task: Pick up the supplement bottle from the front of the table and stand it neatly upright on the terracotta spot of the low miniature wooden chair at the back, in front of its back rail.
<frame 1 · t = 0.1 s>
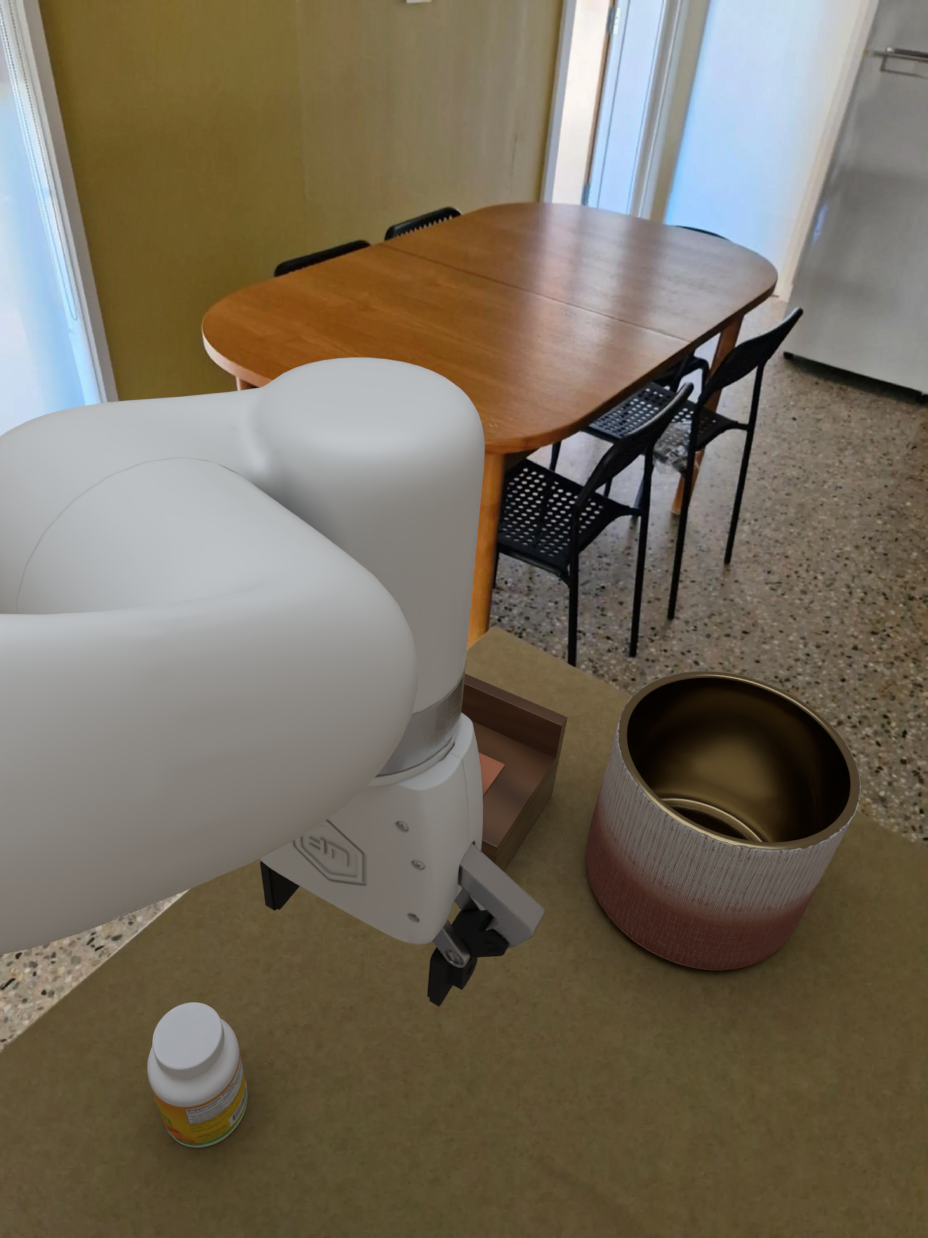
hand: (366, 932, 45), 21 cm above the counter, tool pointing down, fingers open, 9 cm apart
supplement bottle: (206, 1106, 58), on the counter
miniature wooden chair: (457, 809, 78), on the counter
planter: (687, 879, 74), on the counter
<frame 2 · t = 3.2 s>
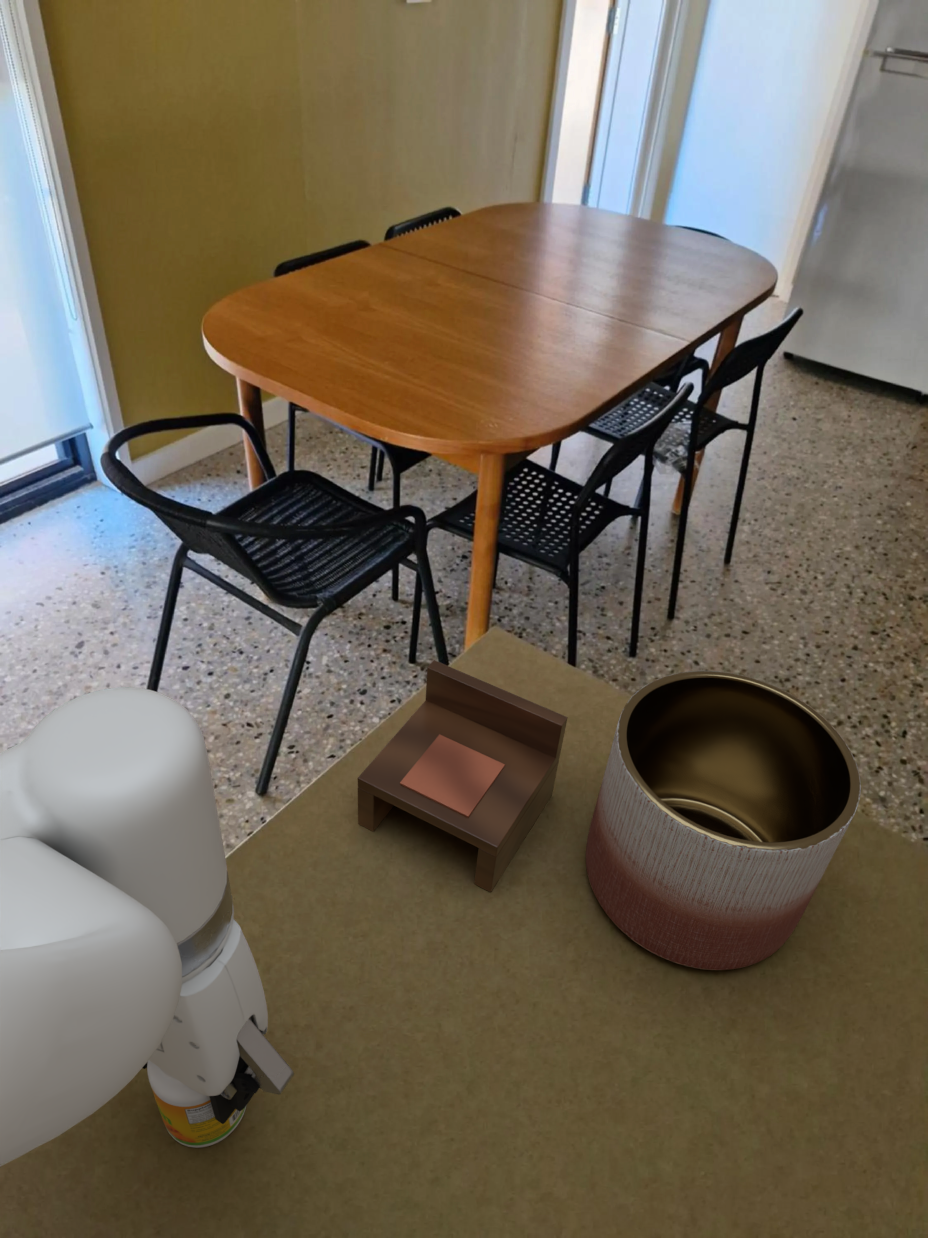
hand: (197, 1071, 55), 5 cm above the counter, tool pointing down, fingers closed on supplement bottle, 5 cm apart
supplement bottle: (206, 1106, 58), on the counter, touching gripper
everything else where it was.
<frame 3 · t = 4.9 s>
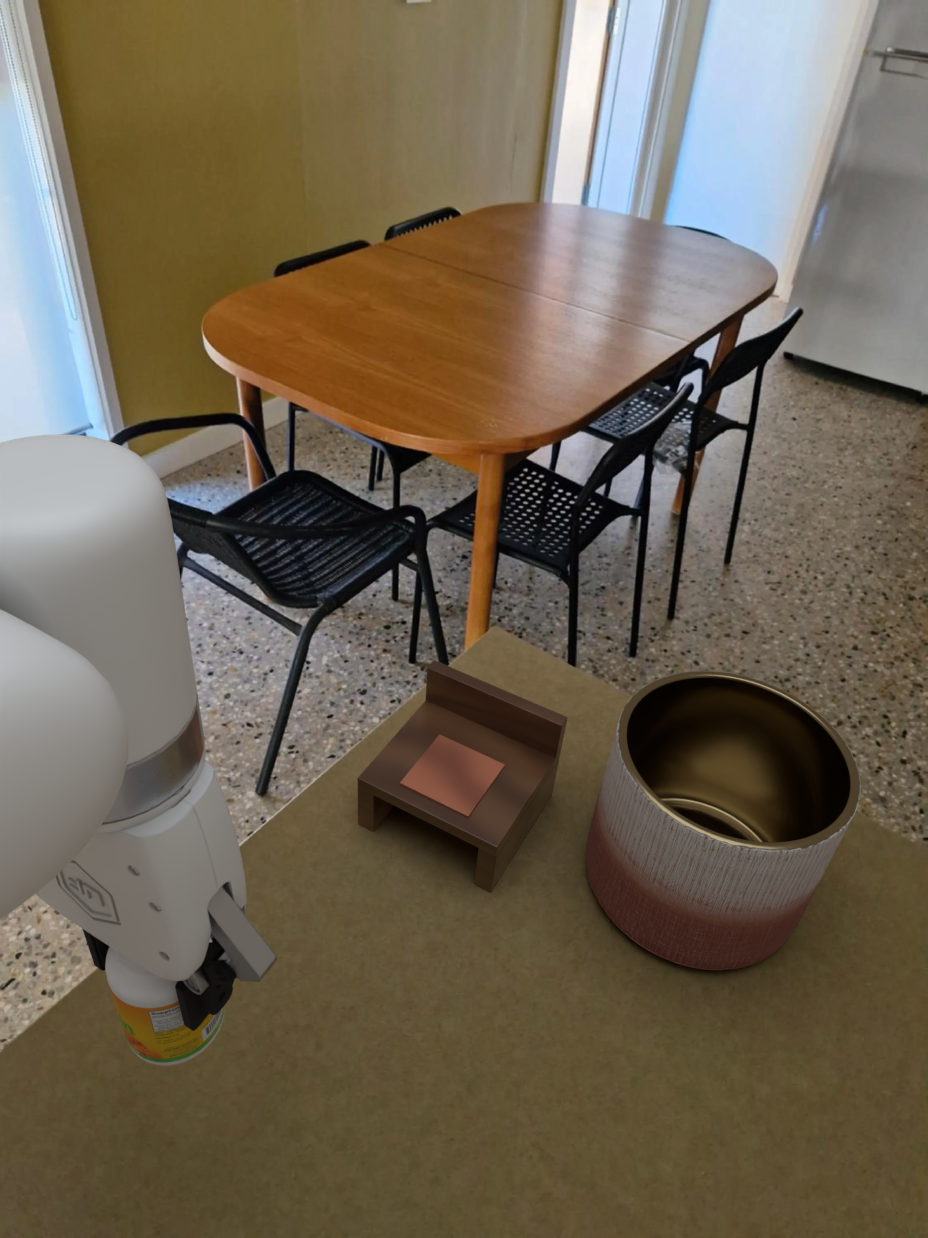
hand: (164, 974, 47), 17 cm above the counter, tool pointing down, fingers closed on supplement bottle, 5 cm apart
supplement bottle: (176, 1022, 50), point 12 cm above the counter, touching gripper
everything else where it was.
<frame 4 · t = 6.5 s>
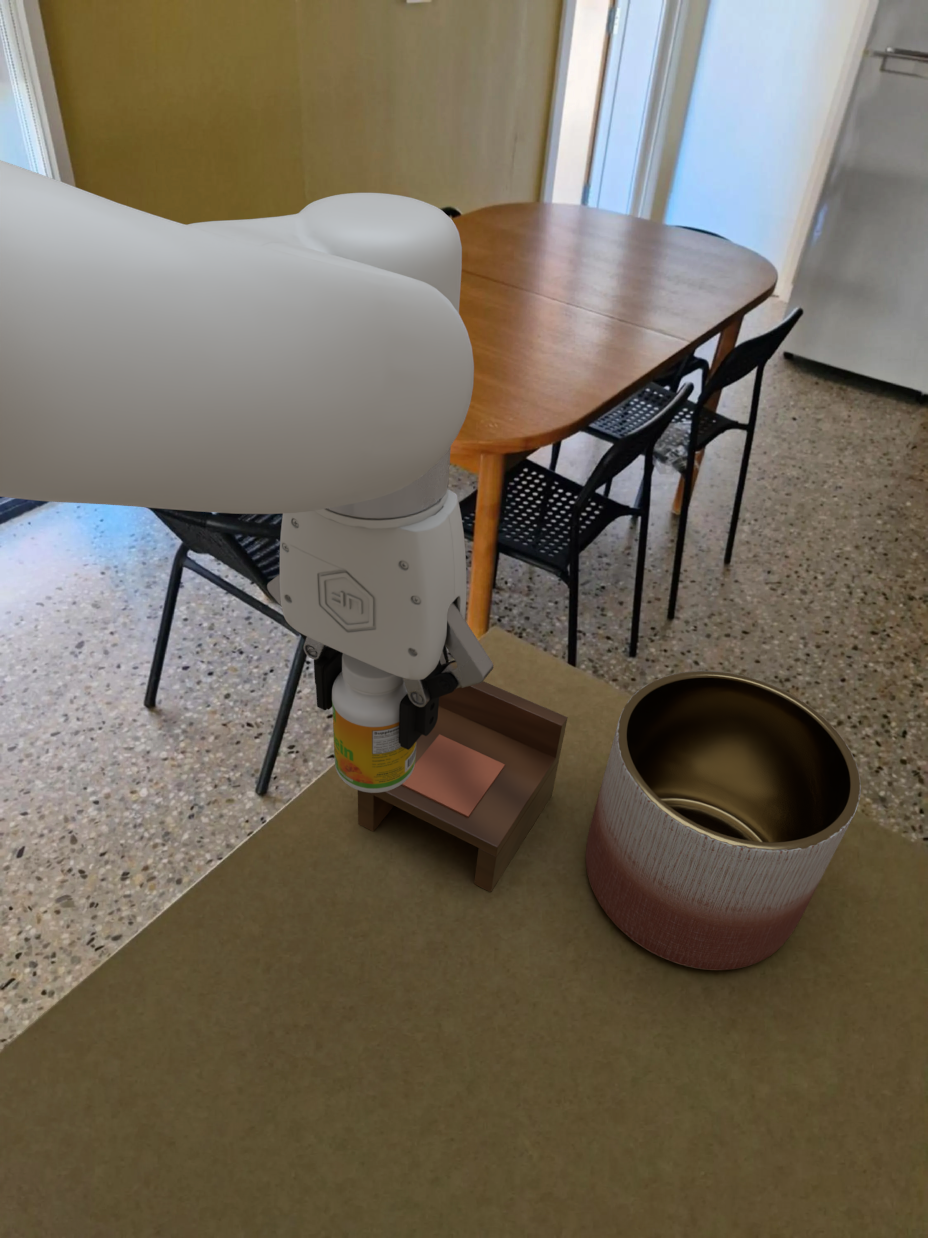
hand: (375, 713, 56), 22 cm above the counter, tool pointing down, fingers closed on supplement bottle, 5 cm apart
supplement bottle: (375, 766, 60), point 17 cm above the counter, touching gripper
everything else where it was.
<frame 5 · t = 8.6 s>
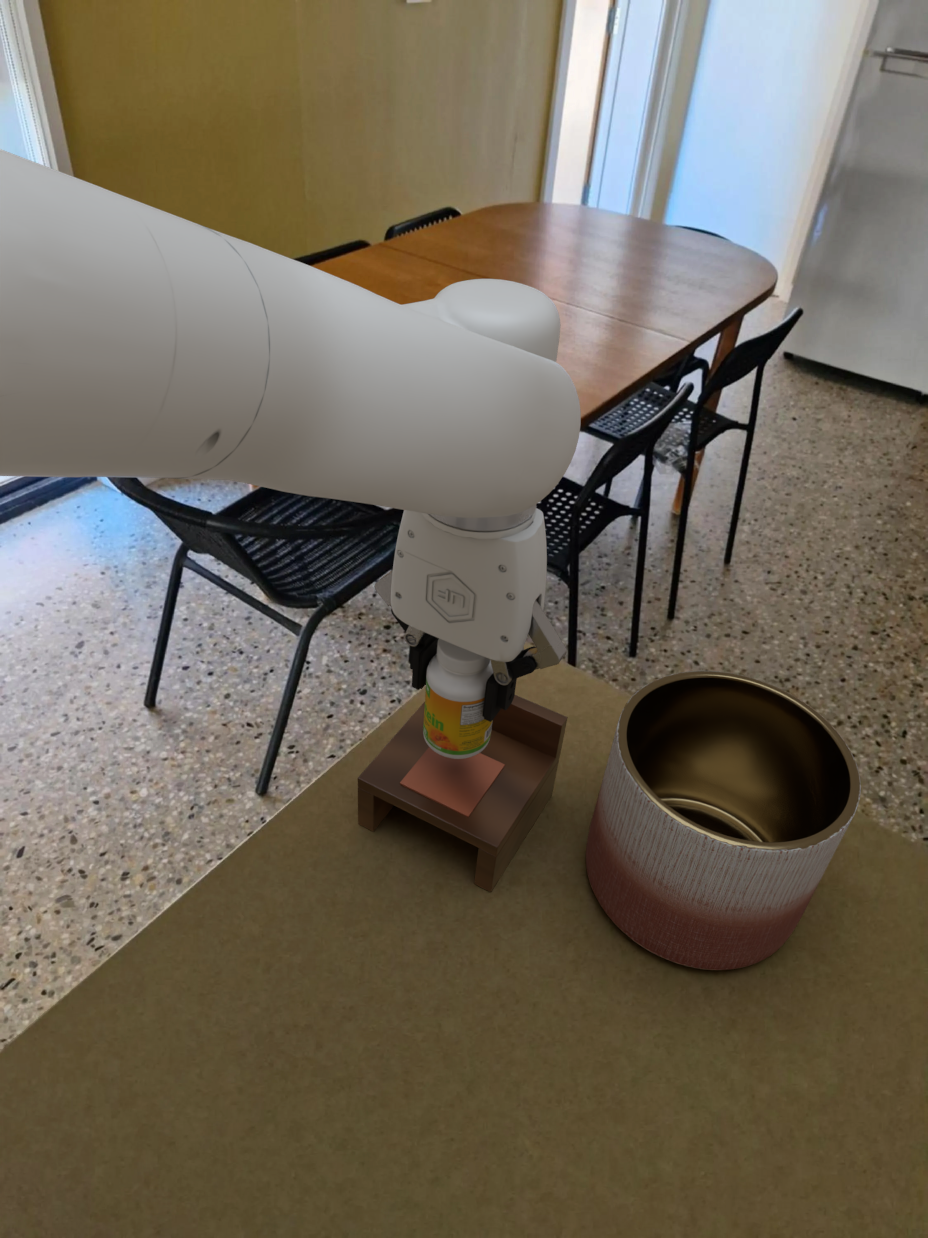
hand: (460, 692, 68), 16 cm above the counter, tool pointing down, fingers closed on supplement bottle, 5 cm apart
supplement bottle: (456, 737, 71), point 11 cm above the counter, touching gripper
everything else where it was.
when the fingers open (11 cm above the counter, at t = 10.1 s): supplement bottle stays where it is, resting on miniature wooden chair.
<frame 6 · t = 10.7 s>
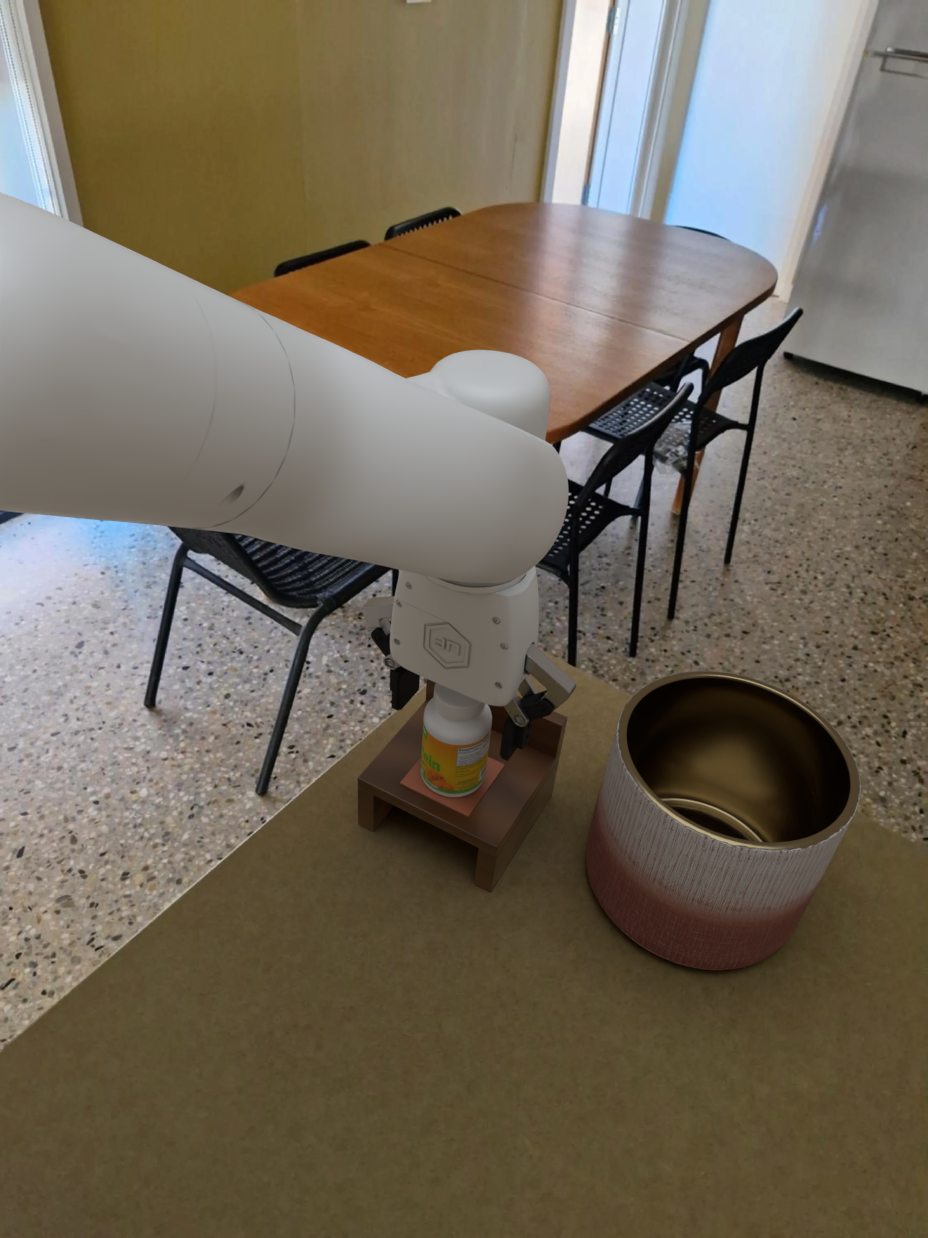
hand: (457, 723, 70), 12 cm above the counter, tool pointing down, fingers open, 9 cm apart
supplement bottle: (452, 775, 73), point 6 cm above the counter, touching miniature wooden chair
everything else where it was.
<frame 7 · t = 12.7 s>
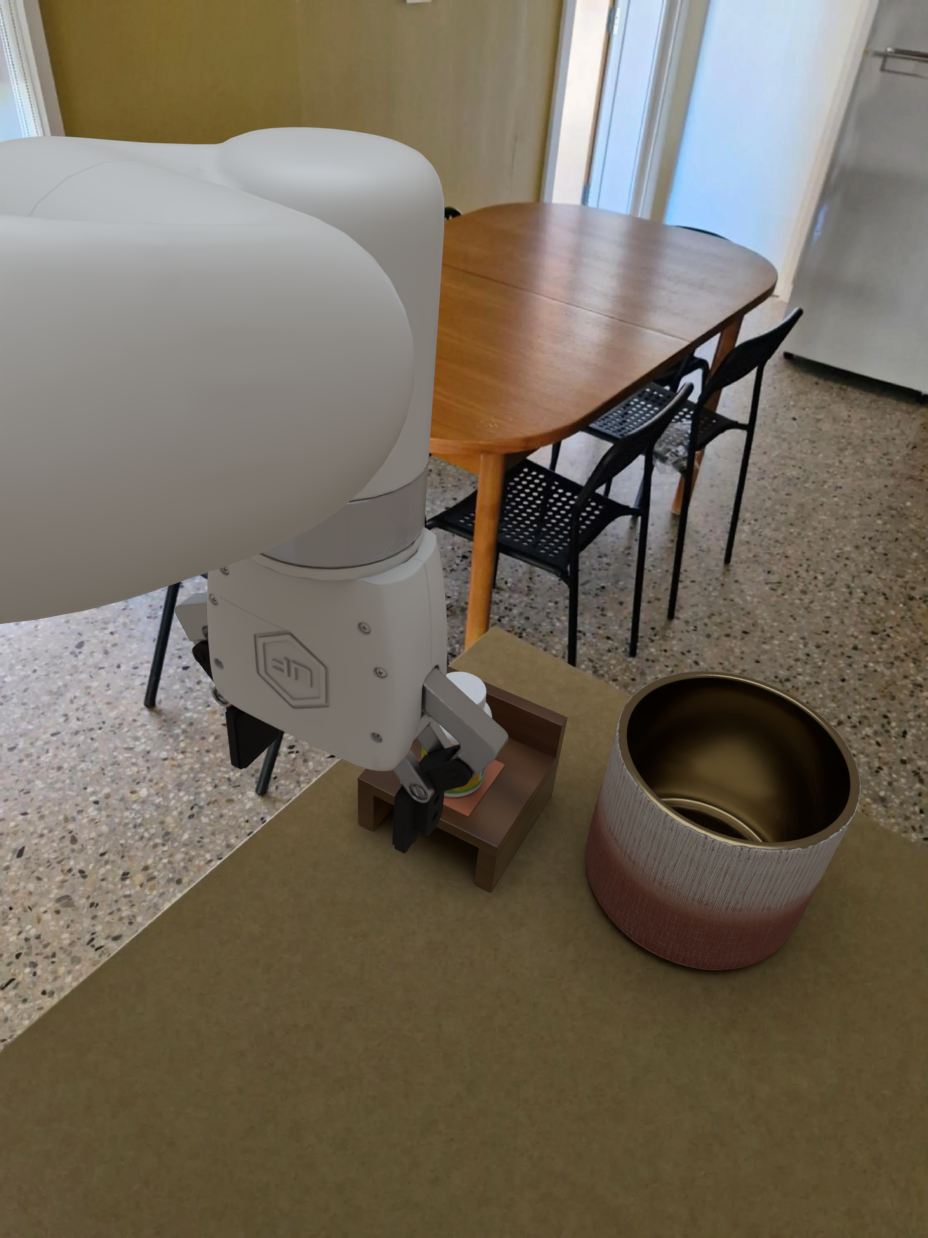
hand: (332, 789, 45), 27 cm above the counter, tool pointing down, fingers open, 9 cm apart
nothing on the counter moved.
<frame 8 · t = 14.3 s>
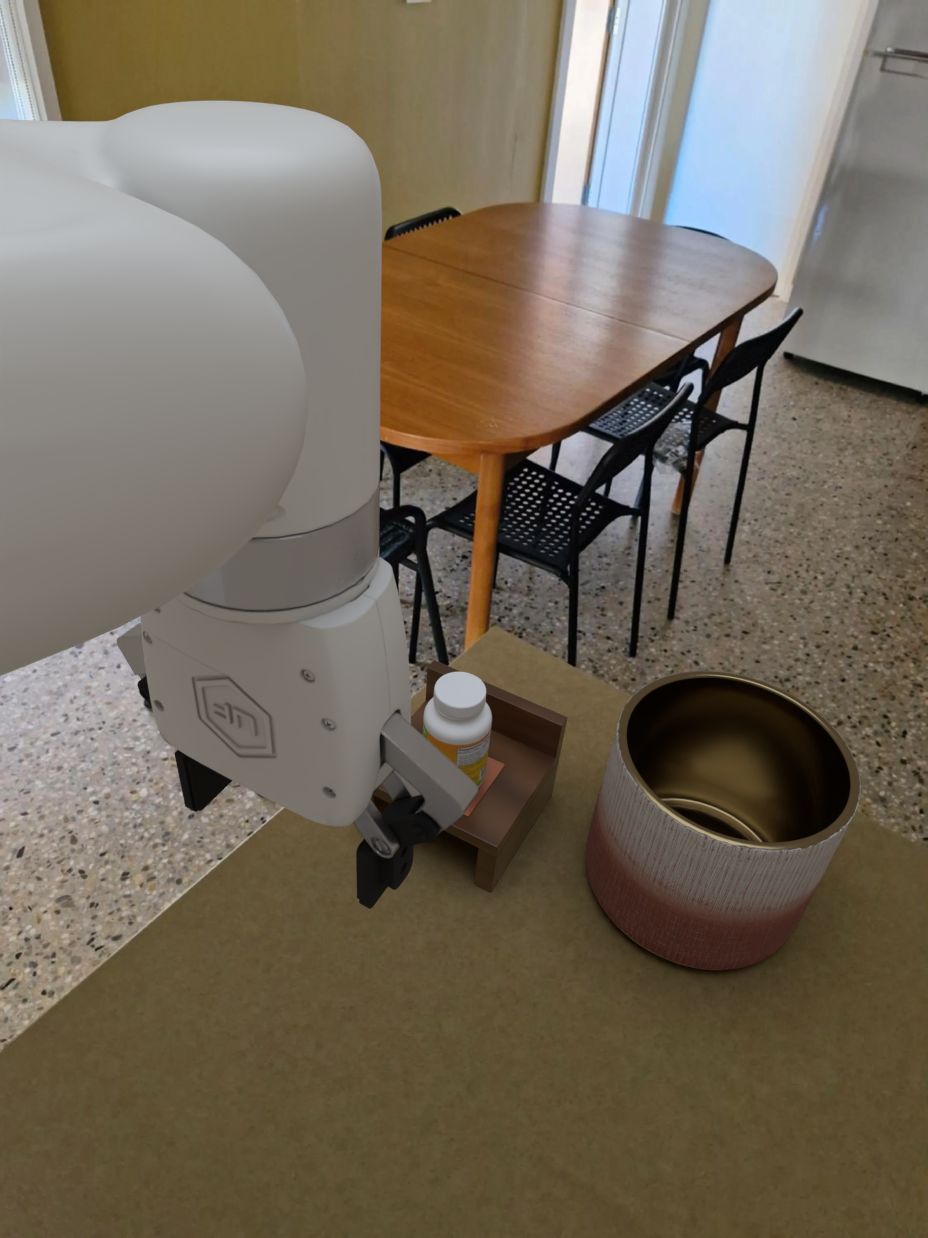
hand: (295, 834, 41), 28 cm above the counter, tool pointing down, fingers open, 9 cm apart
nothing on the counter moved.
at the end: supplement bottle inside the target area on the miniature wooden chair (0.1 cm from its centre), point 6.0 cm above the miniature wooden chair's base; supplement bottle tilted 0° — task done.
